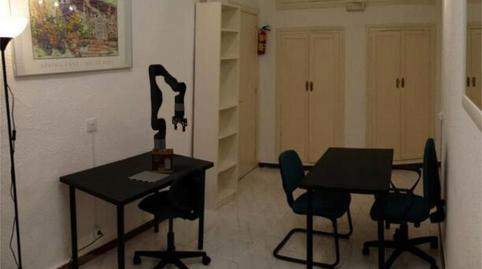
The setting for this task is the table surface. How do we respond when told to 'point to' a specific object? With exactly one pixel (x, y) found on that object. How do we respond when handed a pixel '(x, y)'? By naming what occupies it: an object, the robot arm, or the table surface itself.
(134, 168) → the table surface
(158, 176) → the mat
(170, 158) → the supplement box
